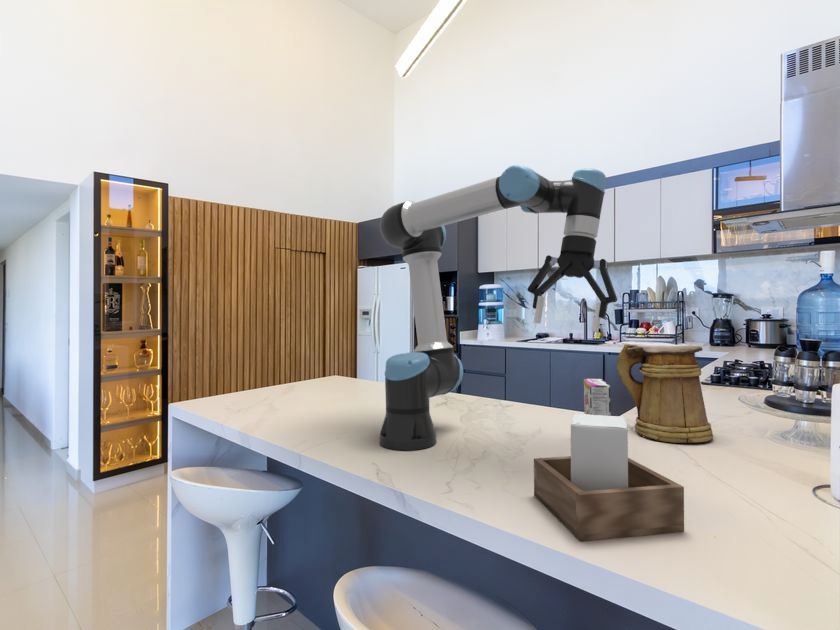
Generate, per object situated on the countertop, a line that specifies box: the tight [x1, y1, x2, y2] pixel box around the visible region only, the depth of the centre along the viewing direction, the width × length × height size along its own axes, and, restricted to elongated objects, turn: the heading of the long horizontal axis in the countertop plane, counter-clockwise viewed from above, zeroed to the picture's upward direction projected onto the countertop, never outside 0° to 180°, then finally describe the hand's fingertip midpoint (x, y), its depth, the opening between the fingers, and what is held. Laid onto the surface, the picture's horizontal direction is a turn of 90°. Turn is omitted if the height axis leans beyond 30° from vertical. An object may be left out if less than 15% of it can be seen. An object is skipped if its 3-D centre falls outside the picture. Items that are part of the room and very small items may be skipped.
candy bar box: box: [583, 378, 612, 416], centre depth 118 cm, size 11×5×16 cm, turn 168°
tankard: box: [616, 343, 714, 444], centre depth 127 cm, size 18×24×25 cm
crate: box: [533, 455, 685, 542], centre depth 79 cm, size 17×17×7 cm
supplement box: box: [570, 413, 629, 491], centre depth 79 cm, size 9×9×15 cm
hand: (565, 327), depth 108 cm, fingers open, 13 cm apart
